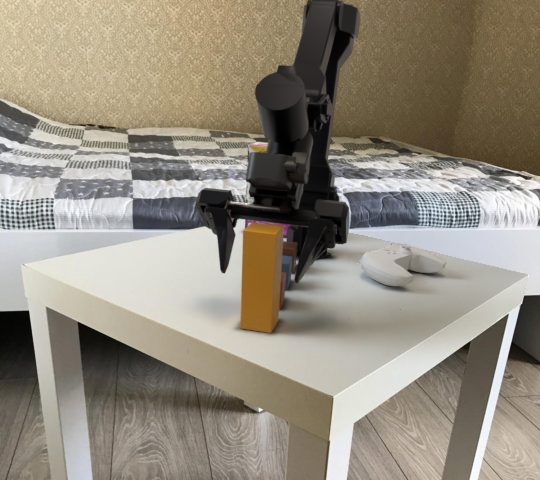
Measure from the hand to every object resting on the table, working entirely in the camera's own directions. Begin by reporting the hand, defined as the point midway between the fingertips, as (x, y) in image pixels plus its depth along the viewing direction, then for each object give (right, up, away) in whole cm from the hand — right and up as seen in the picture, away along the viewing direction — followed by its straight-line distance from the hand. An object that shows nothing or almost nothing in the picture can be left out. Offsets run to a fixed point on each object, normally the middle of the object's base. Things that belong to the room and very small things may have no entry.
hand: (258, 276), depth 69 cm
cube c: (+1, -2, +11) cm, 12 cm away
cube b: (+2, +1, +18) cm, 18 cm away
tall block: (0, -6, +4) cm, 7 cm away
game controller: (+22, +3, +25) cm, 33 cm away
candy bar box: (+2, +15, +44) cm, 47 cm away
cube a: (+3, +5, +25) cm, 26 cm away
